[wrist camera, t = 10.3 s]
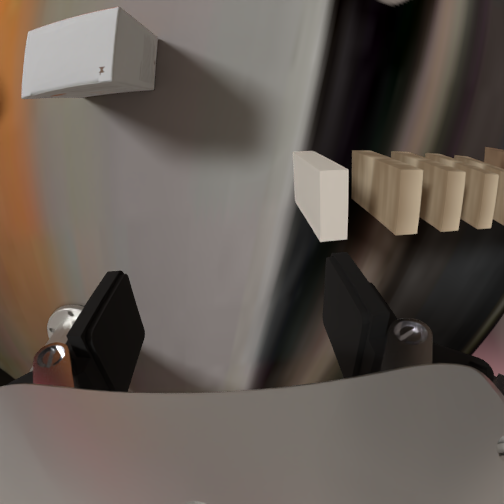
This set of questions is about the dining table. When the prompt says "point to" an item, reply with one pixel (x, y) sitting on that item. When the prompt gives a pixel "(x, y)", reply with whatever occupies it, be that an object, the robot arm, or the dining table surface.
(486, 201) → the domino
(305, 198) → the domino
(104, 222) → the dining table surface
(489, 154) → the end block
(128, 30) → the small box
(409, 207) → the domino
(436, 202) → the domino
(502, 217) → the domino
